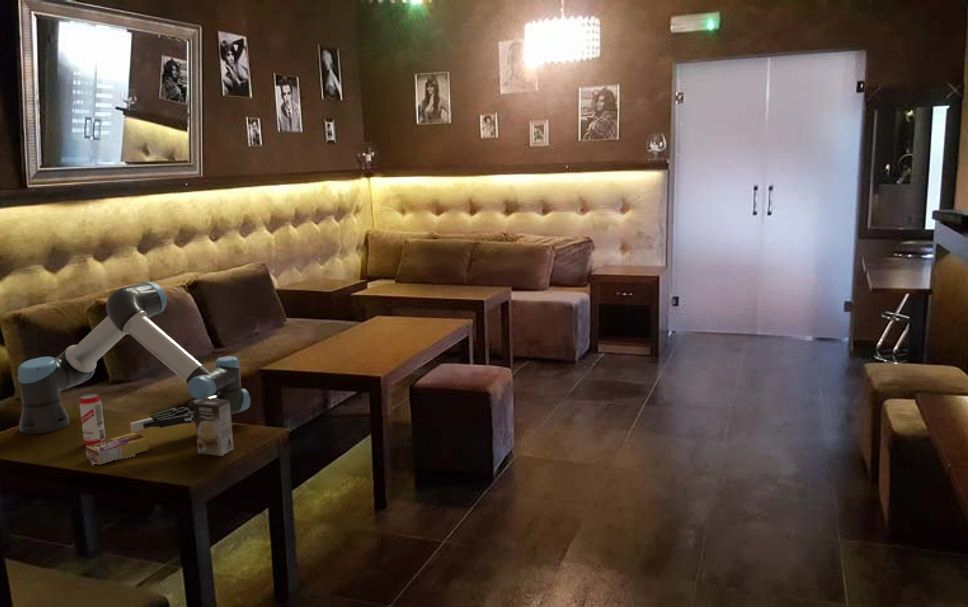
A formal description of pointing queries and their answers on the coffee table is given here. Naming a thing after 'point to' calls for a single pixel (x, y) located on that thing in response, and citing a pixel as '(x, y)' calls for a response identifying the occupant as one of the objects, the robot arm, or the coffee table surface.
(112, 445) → the candy box
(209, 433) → the coffee box
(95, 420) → the beer can
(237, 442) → the coffee table surface
